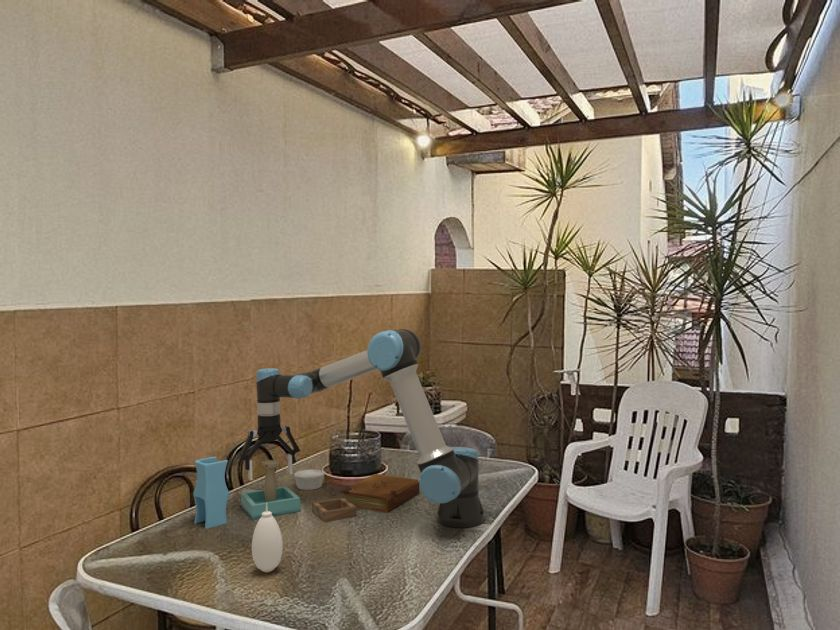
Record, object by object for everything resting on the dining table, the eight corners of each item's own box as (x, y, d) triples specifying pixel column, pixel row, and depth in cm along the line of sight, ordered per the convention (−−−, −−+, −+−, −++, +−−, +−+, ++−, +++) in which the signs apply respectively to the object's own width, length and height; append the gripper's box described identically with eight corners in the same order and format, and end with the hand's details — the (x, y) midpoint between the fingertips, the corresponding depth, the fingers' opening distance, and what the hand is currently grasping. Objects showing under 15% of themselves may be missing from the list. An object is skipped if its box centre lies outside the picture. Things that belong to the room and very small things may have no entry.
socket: (356, 516, 204) (356, 507, 204) (324, 522, 199) (324, 512, 199) (343, 505, 214) (342, 497, 214) (312, 511, 209) (312, 502, 209)
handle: (274, 509, 209) (274, 464, 209) (258, 506, 211) (258, 462, 211) (282, 504, 214) (282, 461, 213) (266, 502, 216) (266, 459, 215)
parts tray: (300, 511, 209) (300, 498, 209) (252, 519, 202) (252, 506, 201) (286, 498, 223) (286, 486, 223) (241, 506, 216) (240, 493, 216)
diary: (387, 514, 207) (387, 497, 207) (340, 506, 216) (340, 490, 215) (419, 494, 227) (419, 479, 227) (375, 488, 236) (375, 473, 236)
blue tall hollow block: (229, 522, 200) (228, 460, 199) (206, 529, 194) (205, 465, 193) (216, 516, 205) (215, 456, 205) (193, 523, 199) (192, 460, 199)
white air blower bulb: (284, 575, 160) (283, 505, 160) (252, 579, 158) (251, 508, 158) (281, 563, 168) (280, 496, 167) (251, 566, 165) (250, 499, 165)
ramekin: (330, 485, 240) (330, 471, 239) (310, 492, 230) (310, 478, 230) (308, 481, 246) (308, 467, 245) (288, 488, 236) (288, 474, 236)
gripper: (300, 408, 221) (302, 468, 221) (228, 416, 209) (230, 479, 209) (307, 411, 214) (309, 473, 215) (233, 419, 203) (235, 484, 203)
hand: (270, 476), depth 212 cm, fingers open, 13 cm apart
